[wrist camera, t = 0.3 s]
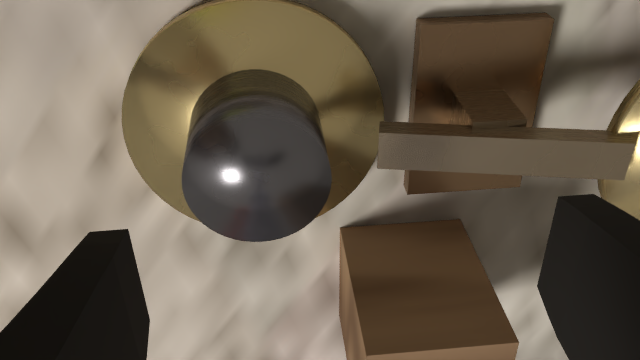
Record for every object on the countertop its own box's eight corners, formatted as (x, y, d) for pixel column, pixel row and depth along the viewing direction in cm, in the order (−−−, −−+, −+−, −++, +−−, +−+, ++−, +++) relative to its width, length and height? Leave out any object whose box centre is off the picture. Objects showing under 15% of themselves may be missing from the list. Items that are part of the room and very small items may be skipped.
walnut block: (447, 305, 25) (496, 435, 20) (339, 314, 25) (362, 448, 20) (459, 218, 23) (518, 342, 18) (340, 227, 23) (366, 355, 18)
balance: (740, 183, 23) (822, 252, 20) (149, 225, 22) (131, 307, 18) (836, -33, 19) (962, 8, 15) (101, -2, 17) (67, 52, 14)
